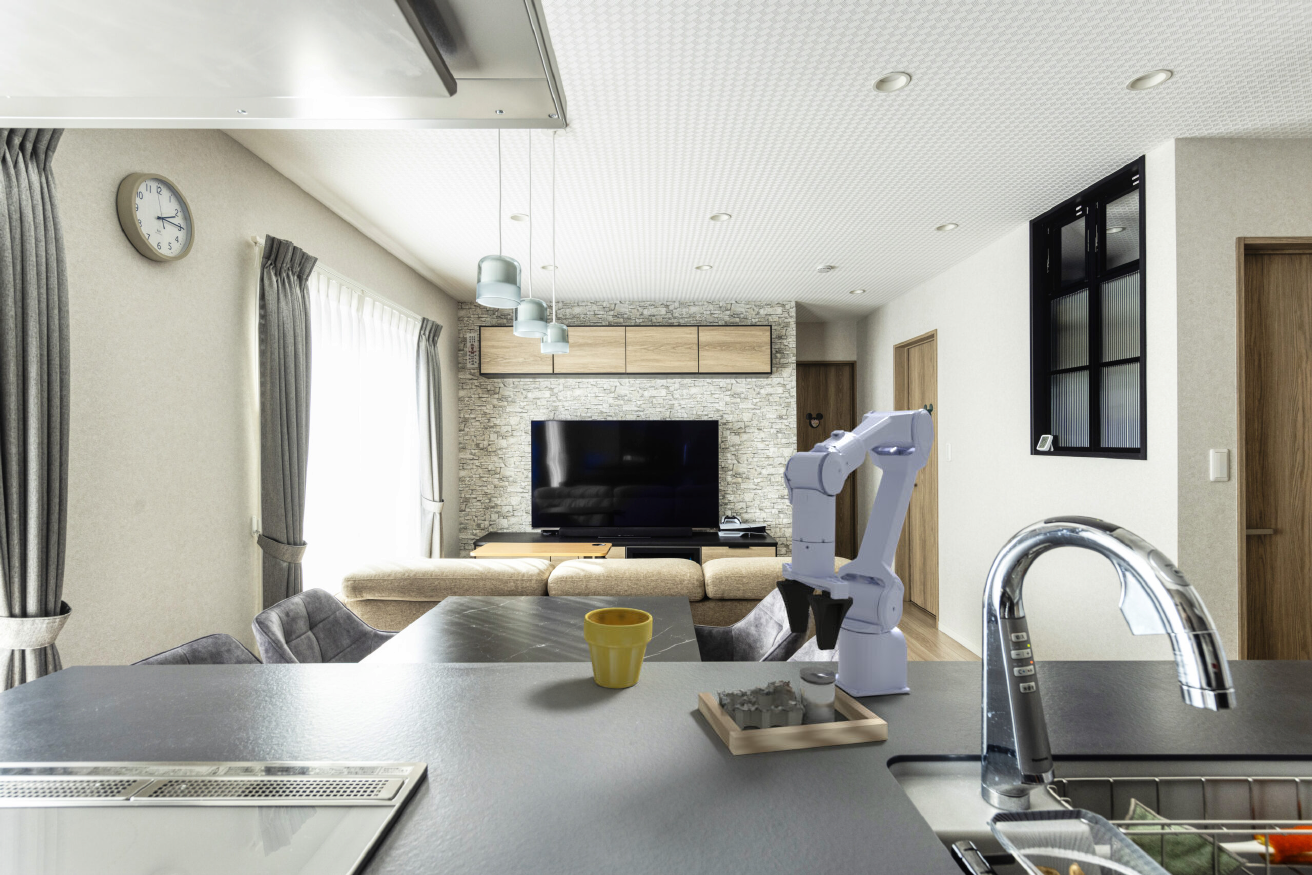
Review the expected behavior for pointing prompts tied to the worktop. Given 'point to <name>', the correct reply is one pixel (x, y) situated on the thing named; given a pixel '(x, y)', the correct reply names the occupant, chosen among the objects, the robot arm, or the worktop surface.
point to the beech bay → (796, 728)
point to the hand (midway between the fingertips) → (811, 640)
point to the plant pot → (617, 644)
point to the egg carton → (763, 706)
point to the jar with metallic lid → (817, 695)
